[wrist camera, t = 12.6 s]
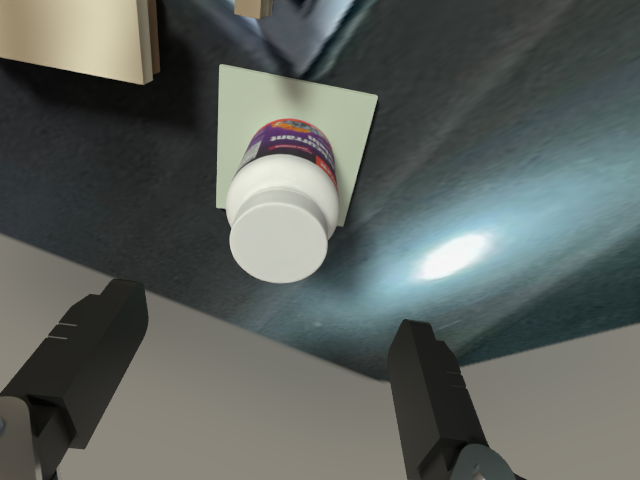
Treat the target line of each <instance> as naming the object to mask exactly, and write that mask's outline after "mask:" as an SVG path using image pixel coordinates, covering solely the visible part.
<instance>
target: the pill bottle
mask: <svg viewBox="0 0 640 480" xmlns="http://www.w3.org/2000/svg"><path fill="white" fill-rule="evenodd" d="M226 213H227V218H228V221H229V224H230V226H231V228H232V229H231V233H230V248H231V251H232V254H233V256H234V258H235V260H236V261H237V263H238V264H239V265H240V266H241V267H242V268H243V269H244V270H245V271H246V272H248V273H249V274H250V275H252V276H254V277H256V278H258V279H261V280H264V281H267V282H273V283H290V282H295V281H299V280H301V279H304V278H306V277H308V276H309V275H311V274H312V273H314V272H315V271H316V270H317V269H318V268H319V267H320V266H321V264H322V263H323V261H324V259H325V257H326V253H327V249H328V240H329V239H330V237H331V236H332V234H333V233H334V231H335V229H336V226H337V224H338V220H339V214H340V200H339V194H338V188H337V179H336V171H335V161H334V154H333V150H332V147H331V144H330V142H329V140H328V138H327V137H326V135H325V134H324V133H323V132H322V131H321V130H320V129H319V128H318V127H317V126H316V125H314V124H313V123H311V122H309V121H307V120H304V119H301V118H297V117H281V118H277V119H274V120H271V121H269V122H267V123H266V124H264V125H263V126H262V127H261V128H260V129H259V130H258V131H257V132H256V133H255V135H254V136H253V138H252V139H251V141H250V143H249V145H248V148H247V150H246V152H245V154H244V156H243V158H242V160H241V162H240V164H239V167H238V169H237V171H236V173H235V175H234V177H233V180H232V182H231V184H230V187H229V190H228V193H227V198H226Z"/></svg>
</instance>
